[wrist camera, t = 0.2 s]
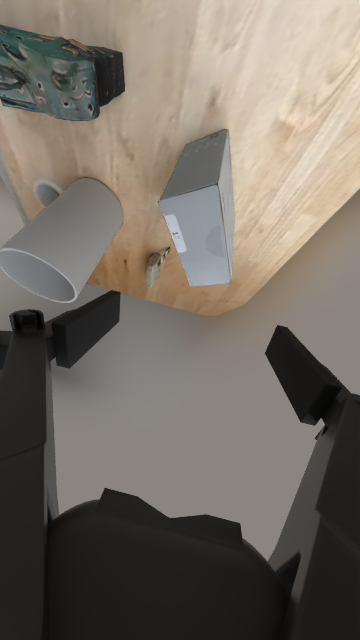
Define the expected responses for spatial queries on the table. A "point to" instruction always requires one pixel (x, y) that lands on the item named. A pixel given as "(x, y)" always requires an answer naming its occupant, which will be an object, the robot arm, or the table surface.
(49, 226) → the cylinder vase
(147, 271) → the cuneiform tablet
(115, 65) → the ceramic cat
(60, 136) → the table surface
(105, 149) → the table surface
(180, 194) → the hard drive box
